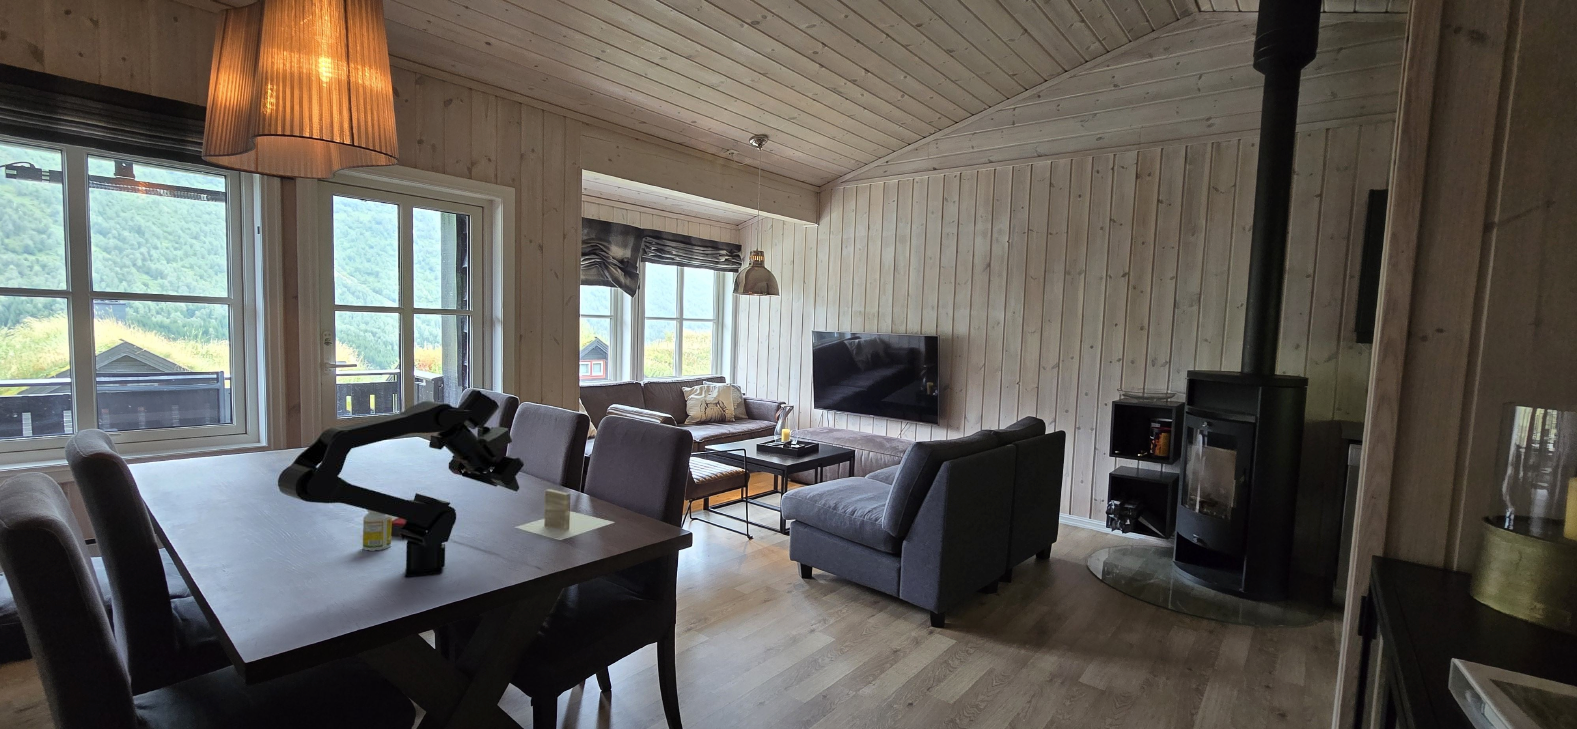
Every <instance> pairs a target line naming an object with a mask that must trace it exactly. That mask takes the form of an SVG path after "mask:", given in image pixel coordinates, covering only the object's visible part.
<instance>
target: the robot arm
mask: <svg viewBox="0 0 1577 729" xmlns="http://www.w3.org/2000/svg"><path fill="white" fill-rule="evenodd" d="M499 408H500V406H499V404H498V402H497V401H496V400H495V399H492V398H491V397H489V396H488V395H486V394H484V393H482V391H480V390H478V389H472V390H471V391H470V393H468V395H467V397H466V398H465V399H464V400H463V401H462V402H461V403H460V405H459V406H458V407H456V406H453V405H451V404H449V403H445V402H438V401H434V400H433V401H432V400H424V401H422V402H420V403H417V404H414V405H411V406H409V407H408V408H406V409H405V410H404V411H402V412H400V413H397V414H392V415H388V416H384V417H379V418H375V419H374V418H373V419H370V420H367V421H361V422H356V423H353V424H349V425H344V426H339V427H330V428H328V429H326V430H325V429H324V431H323V432H322V433H320V435H319V436H318V438H317V439H316V440H315V441H314V442H313V443H312V444H311V445H309V446H308V447H307V448H306V449H304V450H303V451H302V452H301V453H300V454H298V455H297V457H296V458H295V460H294V461H293V462H292V464H290V465H289V466H287V467H286V468H284V469H283V470H282V471H281V473H280V474H279V477H278V478H277V487H278V489H279V492H280V493H282V494H284V495H286V496H289V497H291V498H295V499H296V500H300V501H302V502H303V501H304V502H307V503H316V504H317V503H319V504H344V505H347V506H352V507H356V508H360V509H363V510H371V511H374V512H378V513H382V514H386V515H390V516H394V517H398V518H401V519H402V520H404V521H405V523H404V525H403V526H402V527H401V528H400V529H399V534H400V536H401V537H400V539H401V540H405V541H406V548H405V551H406V554H405V556H406V558H405V572H404V577H405V578H410V577H417V576H418V577H419V576H428V575H437V574H439V575H440V574H441V573H443V569H444V568H445V567H446V543H447V542H449V540H450V537H451V533H452V531H453V528H454V526H455V524H456V521H457V511H456V509H455V507H452V506H451V502H449V501H446V500H442V499H439V498H435V497H432V496H428V495H424V494H420V493H417V492H416V493H415V495H414V498H413V499H404V498H403V497H402V498H401V497H397V496H393V495H391V494H388V493H383V492H380V491H376V490H373V489H370V488H366V487H362V486H359V485H355V484H351V483H350V482H348V481H347V480H345V479H343V478H342V477H340V476H339V475H340V474H341V472H342V471H343V468H344V465H345V462H346V459H347V457H348V455H349V453H350V452H351V450H352V449H355V448H359V447H364V446H368V445H371V444H372V445H373V444H375V443H379V442H383V441H386V440H391V439H394V438H398V437H402V436H405V435H410V434H431V435H430V441H429V445H428V447H429V448H431V449H435V450H438V451H439V450H443V448H445V449H447V450H448V451H449V452H450V453H451V454H453V455H452V456H451V458H452V459H451V460H450V461H449V462H448V470H449V471H451V473H452V474H454V475H458V476H461V477H462V478H463V477H464V478H467V479H470V480H473V481H476V482H480V483H483V484H485V485H489V486H493V487H495V488H497V487H498V486H499V487H502V488H504V489H506V490H511V491H513V492H518V491H519V490H520V485H519V483H518V482H519V481H518V479H517V477H516V476H517V475H518V474H519V472H520V471H521V470H522V468H523V467H525V462H524V461H523V460H522V459H521V458H520V457H517V456H512V455H504V456H502V458H501V459H496V458H498V456H499V455H500V454H501V452H500V450H501V449H502V448H503V447H505V446H506V445H509V444H511V443H513V439H512V436H511V434H510V431H509V428H506V427H501V426H491V427H489V426H486V425H487V423H488V422H490V420H491V418H492V417H493V416H494V415H495V414H496V413H497V411H498V410H499ZM476 429H477V435H476V434H475V433H474V432H472V430H476ZM433 433H436V434H433ZM426 530H427V531H426Z"/></svg>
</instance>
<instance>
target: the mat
mask: <svg viewBox="0 0 1577 729" xmlns="http://www.w3.org/2000/svg"><path fill="white" fill-rule="evenodd" d="M544 521H545V518H542V519H539V520H534V521H532V522H528V523H524V524H521V525H518V526H514V528H515V529H518V530H522V531H525V532H528V533H529V532H530V533H533V534H536V535H540V536H542V537H543V536H544V537H547V538H550V539H555V540H558V541H562V540H565V539H568V538H572V537H575V536H579V535H581V534H584V533H587V532H590V531H593V530H596V529H599V528H602V527H606V526H608V525H612V524H615V521H612V520H606V519H602V518H598V517H595V516H591V515H586V514H583V513H579V512H575V511H571V510H570V523H569V530H566V531H563V530H559V529H555V528H551V527H548V526H544Z"/></svg>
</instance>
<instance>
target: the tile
mask: <svg viewBox="0 0 1577 729" xmlns="http://www.w3.org/2000/svg"><path fill="white" fill-rule="evenodd" d="M544 492H545V494H544V495H545V496H544V519H545V521H544V526H548V527H551V528H555V529H559V530H563V531H566V530H569V523H570V511H571V493H569V492H564V491H560V490H556V489H551V488H548V489H545V491H544Z"/></svg>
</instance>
